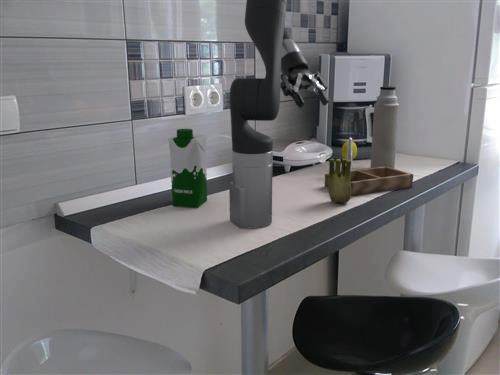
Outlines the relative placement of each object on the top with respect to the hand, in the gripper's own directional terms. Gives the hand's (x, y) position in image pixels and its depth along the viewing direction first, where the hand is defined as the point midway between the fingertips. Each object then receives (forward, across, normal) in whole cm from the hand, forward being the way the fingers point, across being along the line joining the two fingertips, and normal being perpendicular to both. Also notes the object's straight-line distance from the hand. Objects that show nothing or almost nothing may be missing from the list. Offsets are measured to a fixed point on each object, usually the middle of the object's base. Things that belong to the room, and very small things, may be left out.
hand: (314, 104), depth 135 cm
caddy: (+22, +18, +14) cm, 31 cm away
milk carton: (+11, -34, +24) cm, 43 cm away
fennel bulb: (+26, 0, +9) cm, 28 cm away
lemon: (+2, +39, +36) cm, 53 cm away
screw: (+14, +21, +23) cm, 34 cm away
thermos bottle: (+13, +39, +24) cm, 47 cm away
